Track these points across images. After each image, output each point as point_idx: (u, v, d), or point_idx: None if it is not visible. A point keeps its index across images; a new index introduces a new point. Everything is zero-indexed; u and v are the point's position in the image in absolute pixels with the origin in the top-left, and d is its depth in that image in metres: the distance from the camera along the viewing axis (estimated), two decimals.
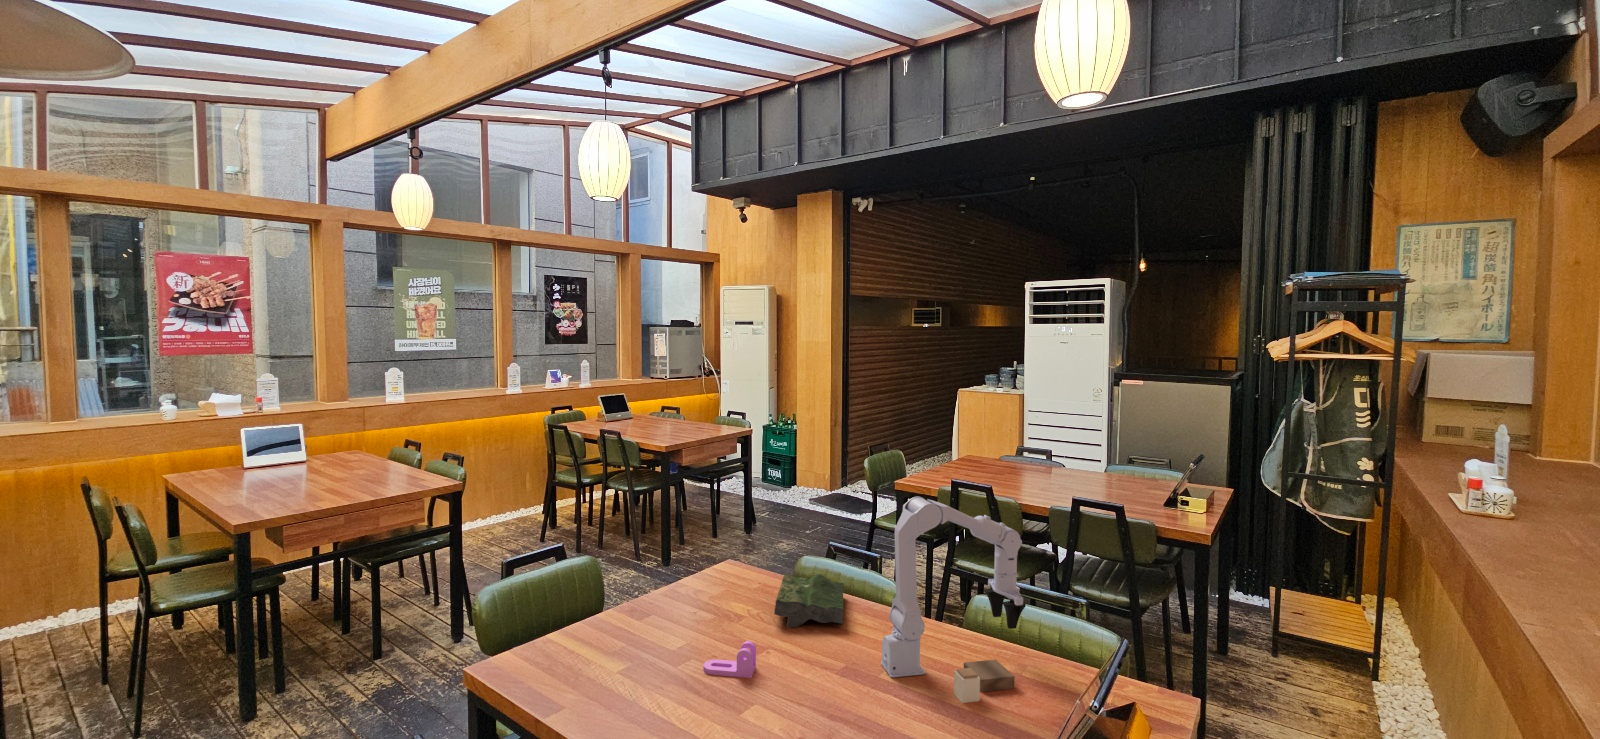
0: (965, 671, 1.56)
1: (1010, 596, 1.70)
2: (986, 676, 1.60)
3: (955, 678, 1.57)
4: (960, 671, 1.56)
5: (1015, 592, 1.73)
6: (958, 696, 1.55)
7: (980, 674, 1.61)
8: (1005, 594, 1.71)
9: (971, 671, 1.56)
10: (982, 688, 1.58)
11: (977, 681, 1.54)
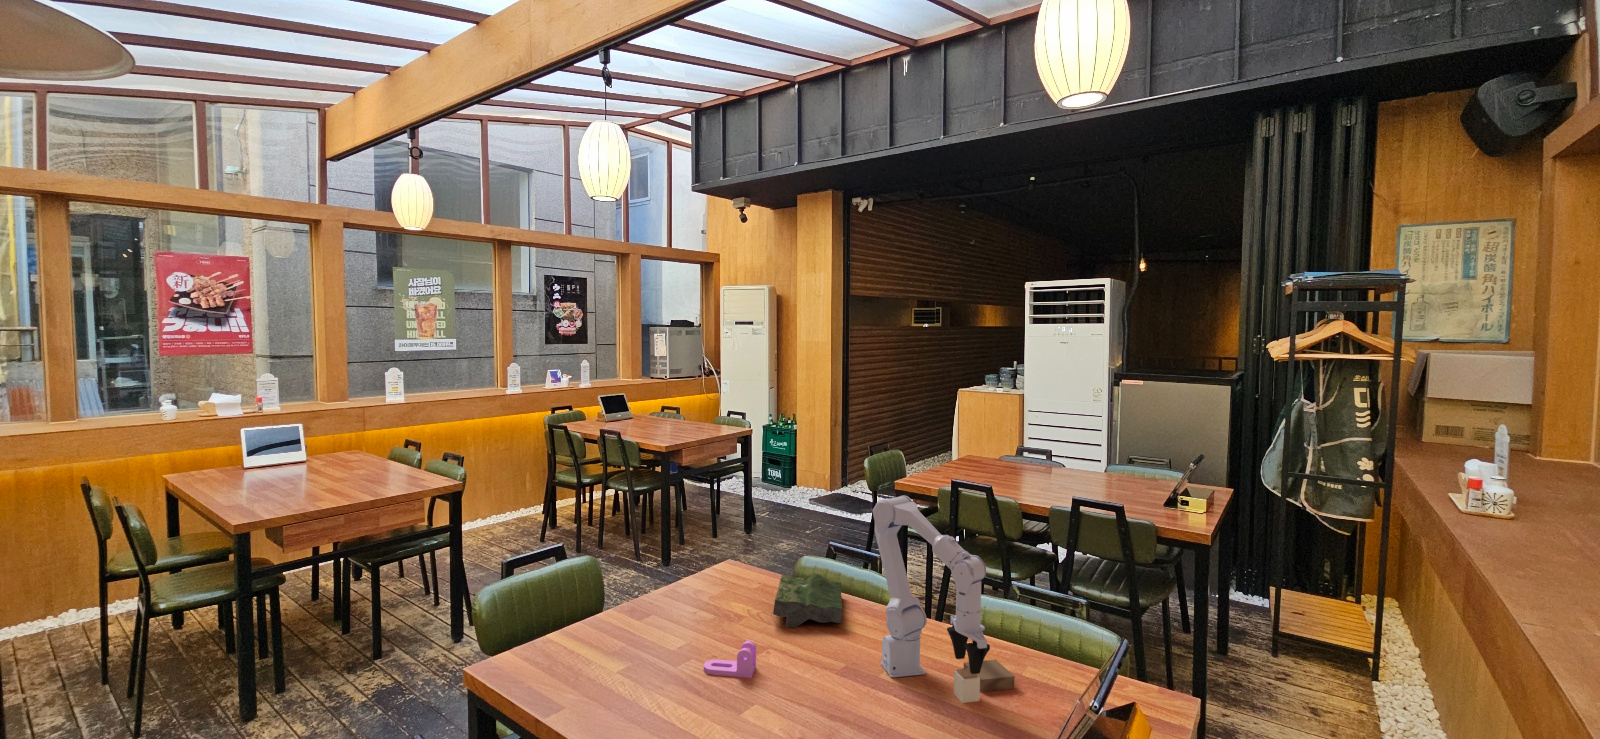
0: (965, 671, 1.56)
1: (972, 637, 1.50)
2: (986, 676, 1.60)
3: (955, 678, 1.57)
4: (960, 671, 1.56)
5: (979, 632, 1.53)
6: (958, 696, 1.55)
7: (980, 674, 1.61)
8: (967, 635, 1.52)
9: None
10: (982, 688, 1.58)
11: (977, 681, 1.54)
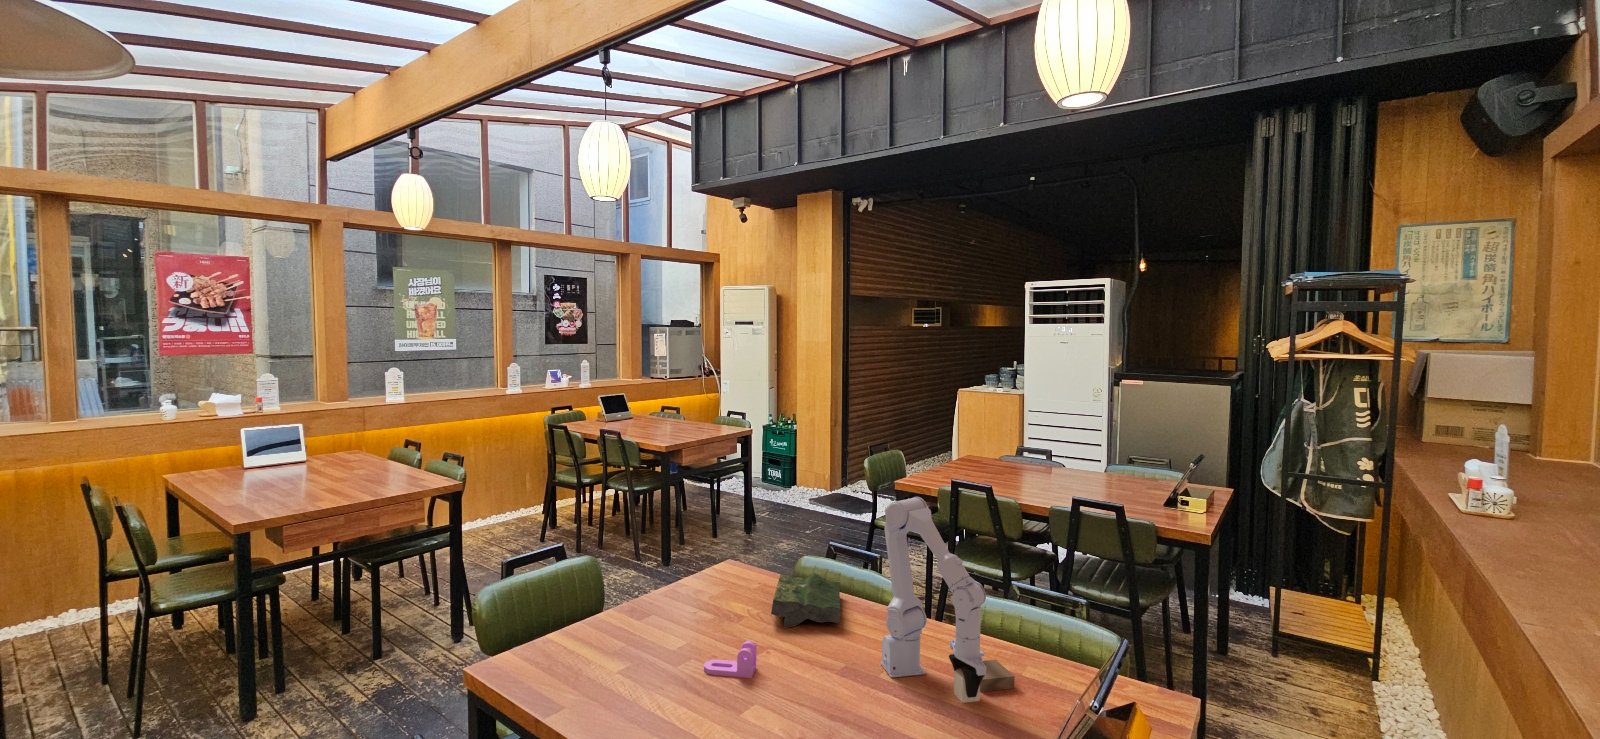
0: None
1: (972, 664, 1.50)
2: (986, 676, 1.60)
3: (955, 678, 1.57)
4: (960, 671, 1.56)
5: (978, 658, 1.53)
6: (958, 696, 1.55)
7: None
8: (967, 661, 1.52)
9: None
10: (982, 688, 1.58)
11: None
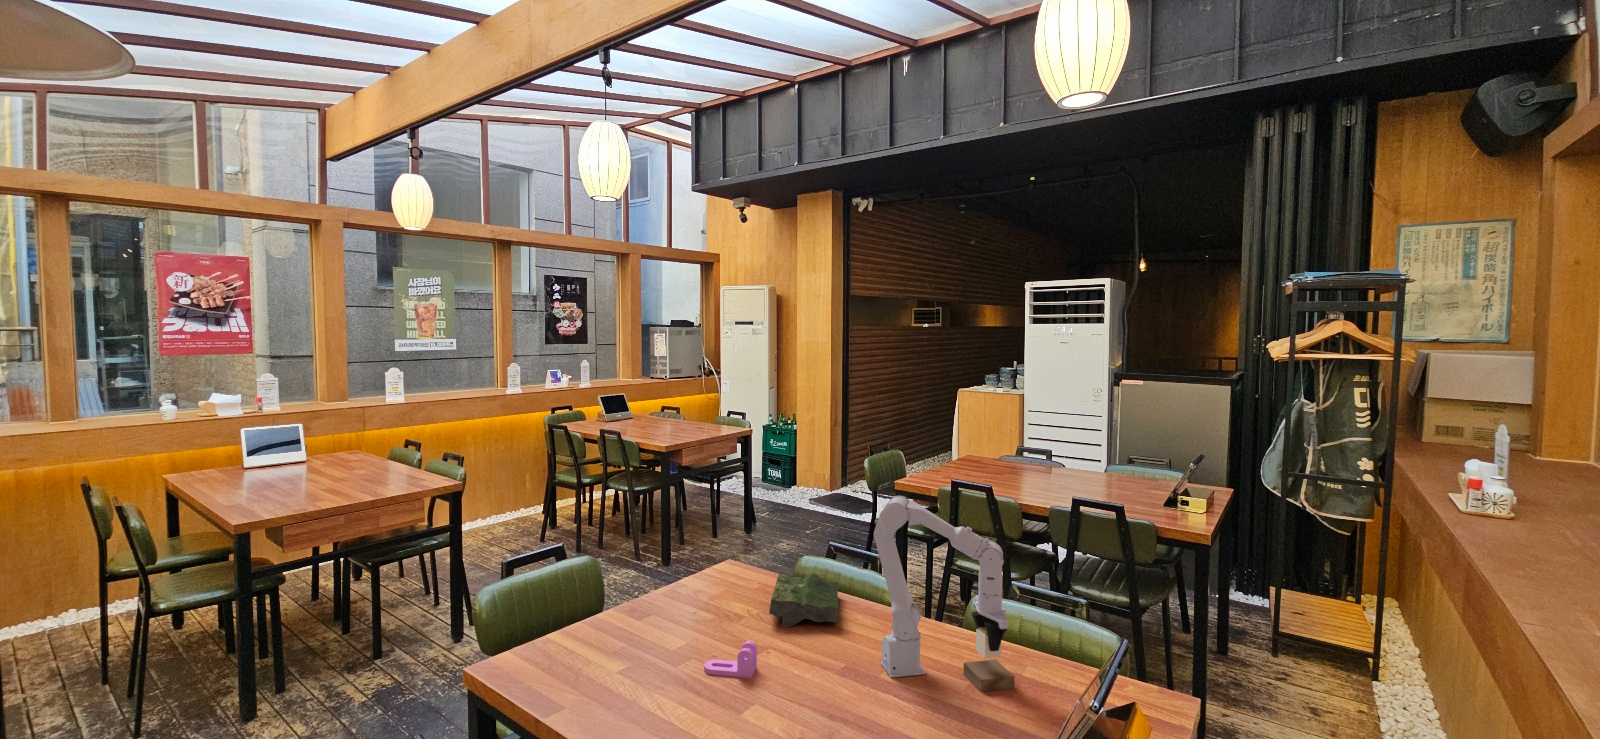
0: None
1: (995, 619, 1.58)
2: (986, 676, 1.60)
3: (977, 636, 1.65)
4: (982, 629, 1.64)
5: (1000, 614, 1.61)
6: (980, 652, 1.63)
7: (980, 674, 1.61)
8: (989, 616, 1.59)
9: None
10: (982, 688, 1.58)
11: None
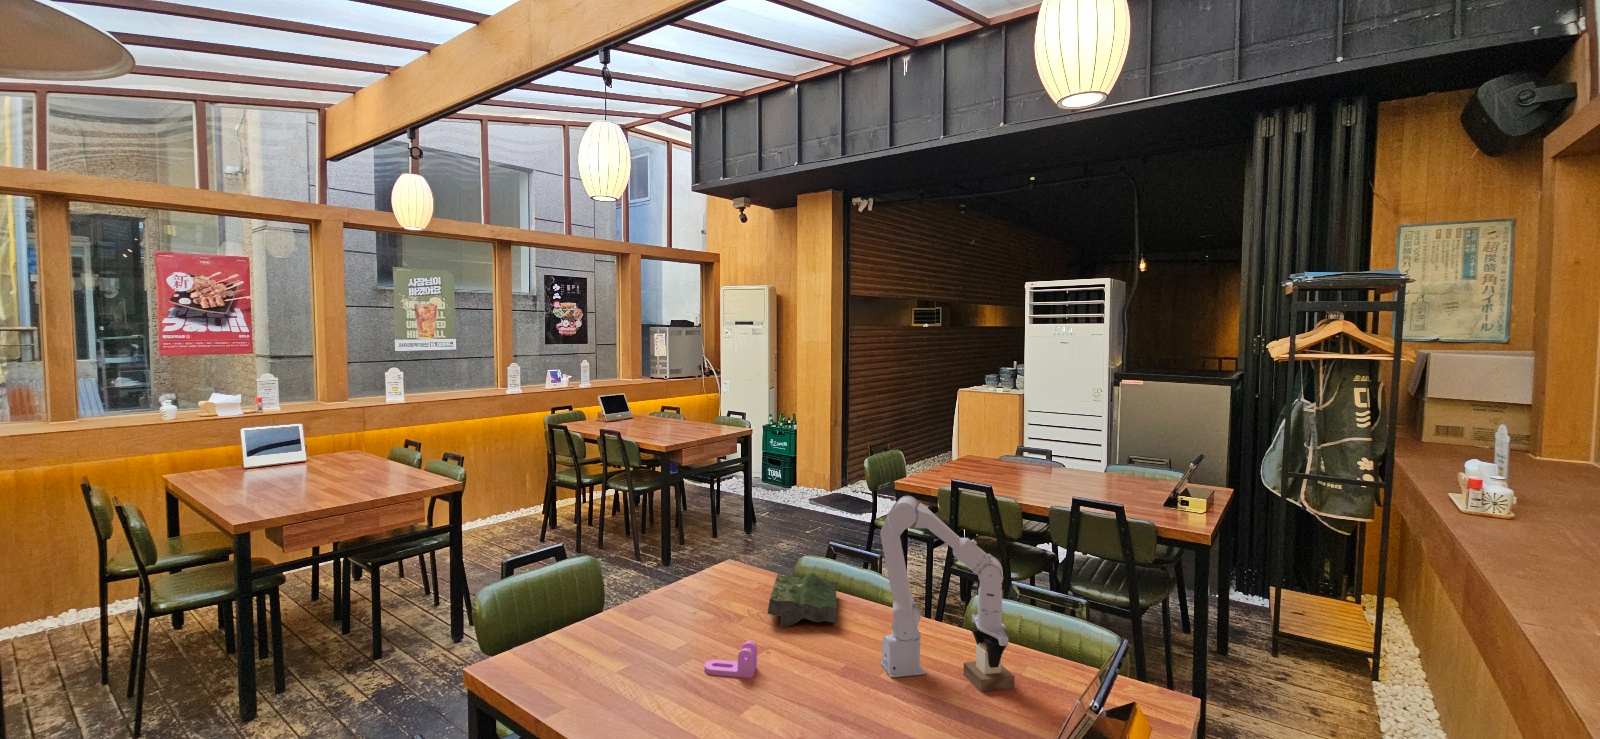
0: None
1: (994, 635, 1.58)
2: (986, 676, 1.60)
3: (977, 652, 1.65)
4: (982, 644, 1.64)
5: (1000, 630, 1.61)
6: (980, 668, 1.63)
7: (980, 674, 1.61)
8: (989, 633, 1.59)
9: None
10: (982, 688, 1.58)
11: None
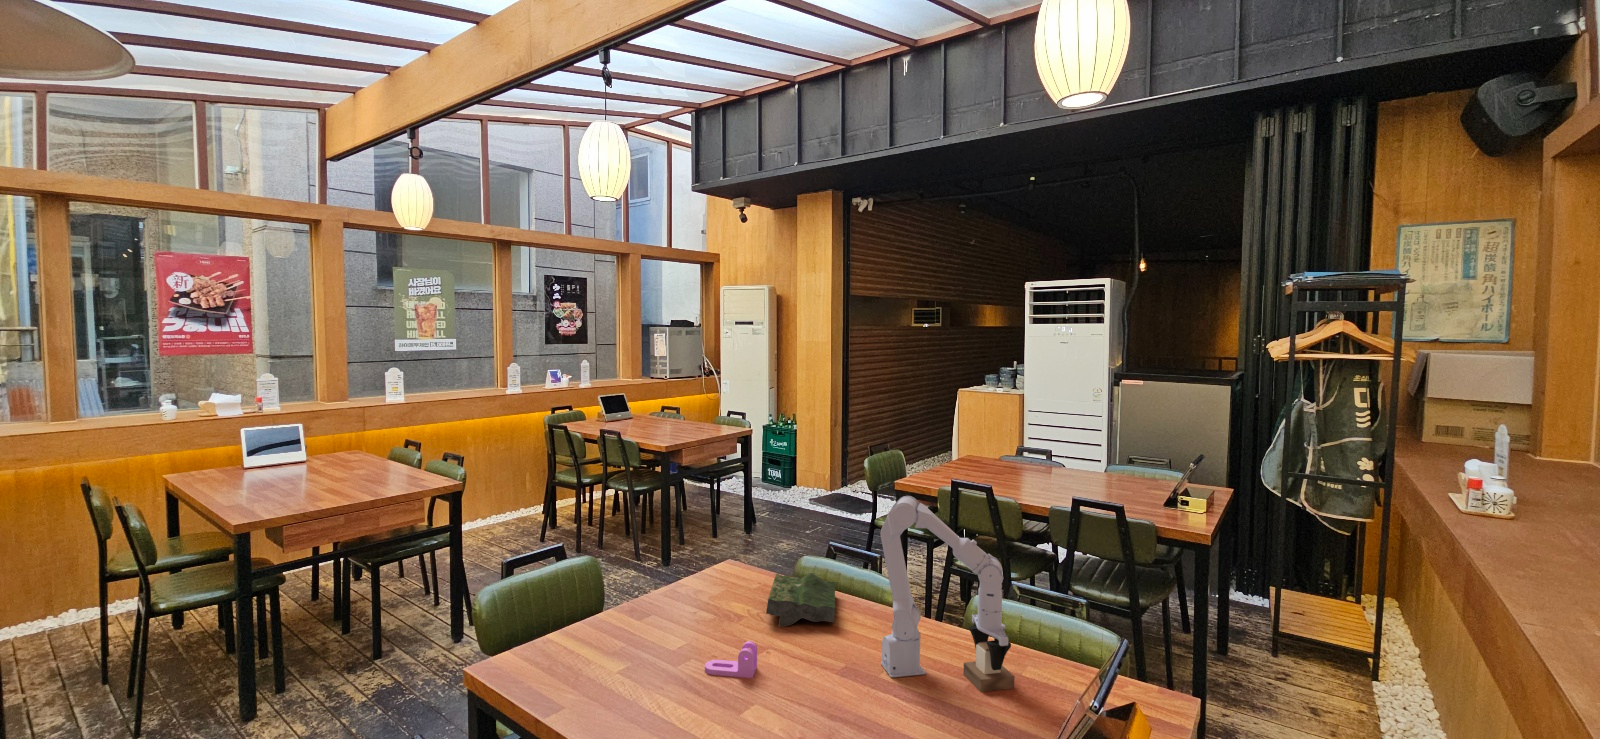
0: None
1: (994, 635, 1.58)
2: (986, 676, 1.60)
3: (977, 651, 1.65)
4: (982, 644, 1.64)
5: (1000, 630, 1.61)
6: (980, 668, 1.63)
7: (980, 674, 1.61)
8: (989, 633, 1.59)
9: None
10: (982, 688, 1.58)
11: None
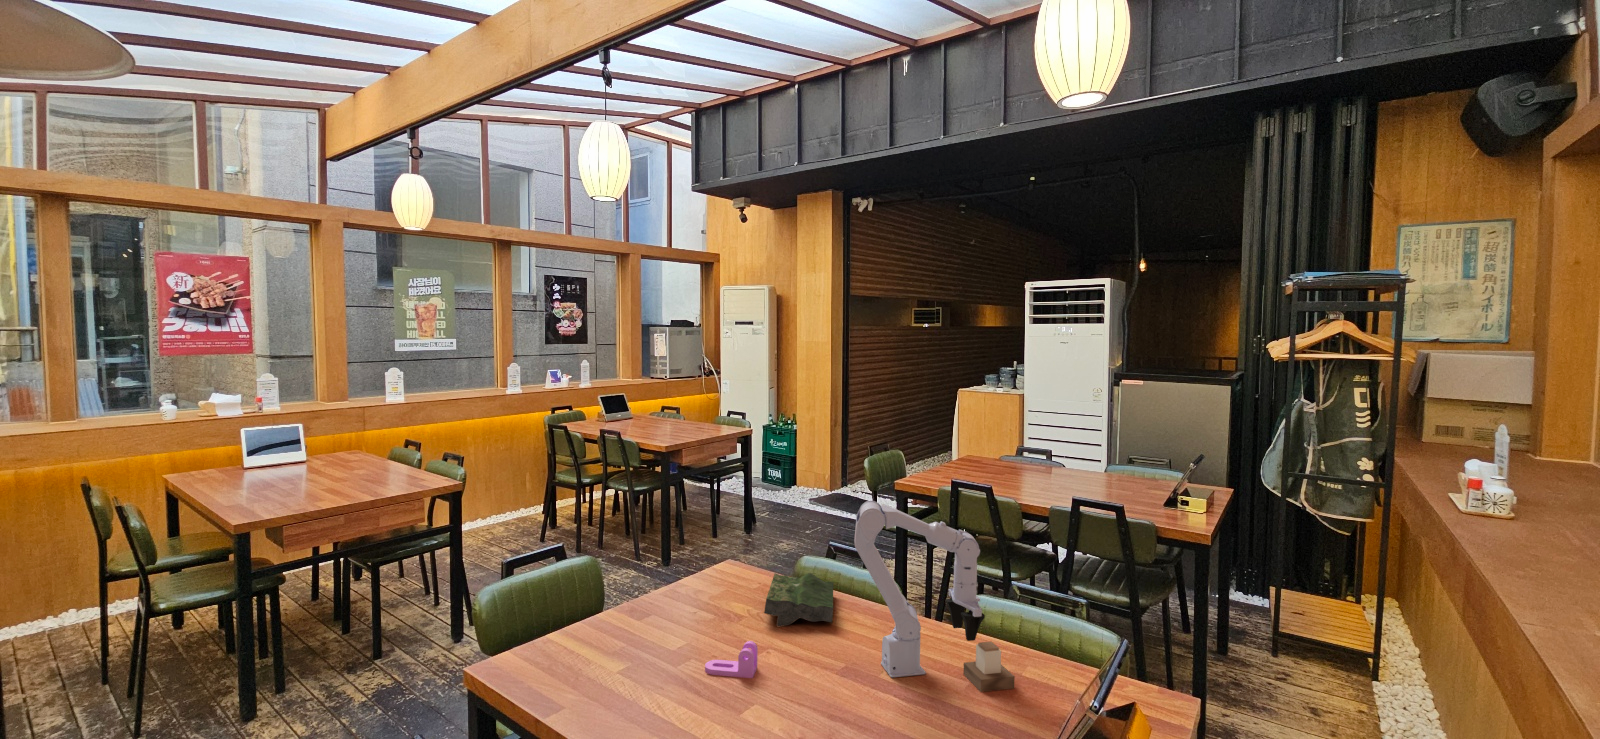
0: (987, 644, 1.64)
1: (968, 607, 1.63)
2: (986, 676, 1.60)
3: (977, 651, 1.65)
4: (982, 644, 1.64)
5: (974, 603, 1.66)
6: (980, 668, 1.63)
7: (980, 674, 1.61)
8: (964, 605, 1.64)
9: (992, 644, 1.64)
10: (982, 688, 1.58)
11: (998, 653, 1.62)
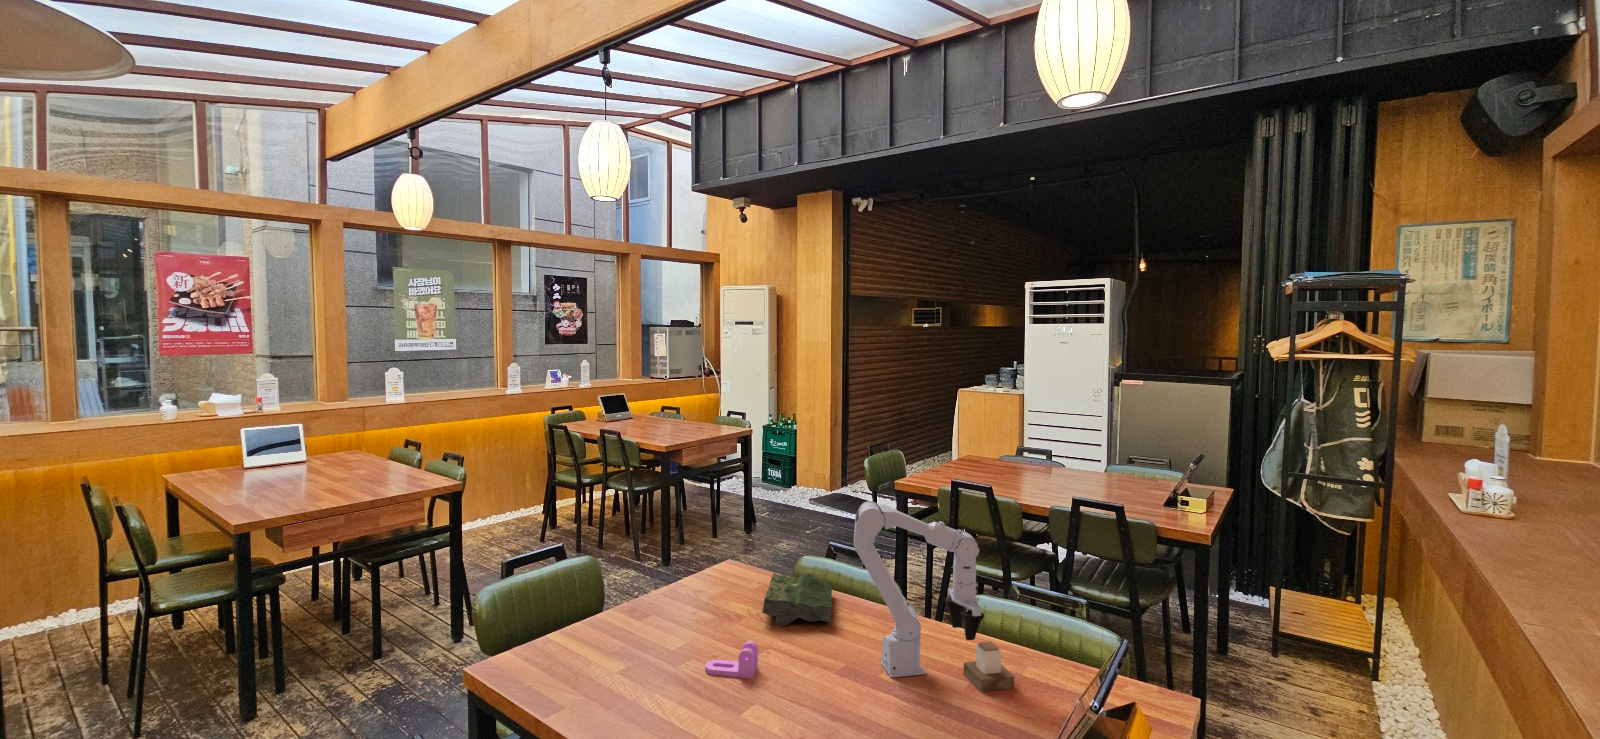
0: (987, 644, 1.64)
1: (968, 606, 1.63)
2: (986, 676, 1.60)
3: (977, 651, 1.65)
4: (982, 644, 1.64)
5: (974, 602, 1.66)
6: (980, 668, 1.63)
7: (980, 674, 1.61)
8: (963, 604, 1.64)
9: (992, 644, 1.64)
10: (982, 688, 1.58)
11: (998, 653, 1.62)
